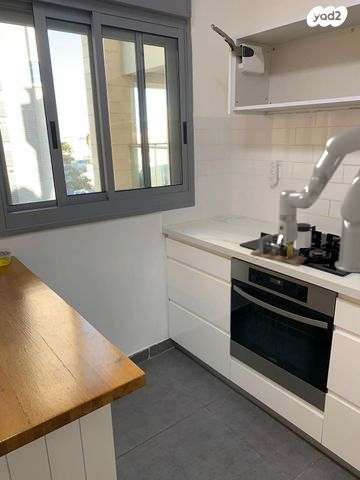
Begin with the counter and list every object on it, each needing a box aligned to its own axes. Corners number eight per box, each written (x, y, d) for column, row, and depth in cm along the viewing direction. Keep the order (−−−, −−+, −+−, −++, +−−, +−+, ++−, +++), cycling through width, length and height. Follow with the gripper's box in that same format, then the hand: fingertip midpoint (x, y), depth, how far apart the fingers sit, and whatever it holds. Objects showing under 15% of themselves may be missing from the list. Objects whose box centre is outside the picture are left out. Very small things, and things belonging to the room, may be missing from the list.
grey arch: (272, 252, 178) (272, 235, 176) (263, 256, 173) (263, 239, 171) (268, 251, 180) (268, 234, 177) (258, 255, 175) (259, 238, 172)
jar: (302, 251, 178) (303, 228, 174) (289, 247, 185) (290, 225, 181) (313, 247, 183) (314, 224, 179) (300, 243, 189) (301, 222, 186)
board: (307, 260, 166) (307, 257, 165) (296, 266, 159) (296, 263, 159) (262, 249, 184) (262, 247, 183) (250, 254, 177) (250, 252, 177)
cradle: (278, 256, 173) (279, 247, 172) (275, 257, 171) (275, 249, 170) (275, 255, 174) (275, 246, 173) (271, 256, 172) (271, 248, 171)
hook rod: (293, 255, 168) (293, 243, 166) (287, 258, 165) (287, 246, 163) (264, 249, 179) (264, 237, 178) (258, 251, 176) (258, 240, 174)
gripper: (284, 222, 154) (283, 261, 160) (304, 214, 165) (303, 251, 170) (270, 220, 160) (269, 258, 165) (290, 212, 170) (289, 248, 176)
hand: (286, 254), depth 168 cm, fingers closed on hook rod, 5 cm apart
